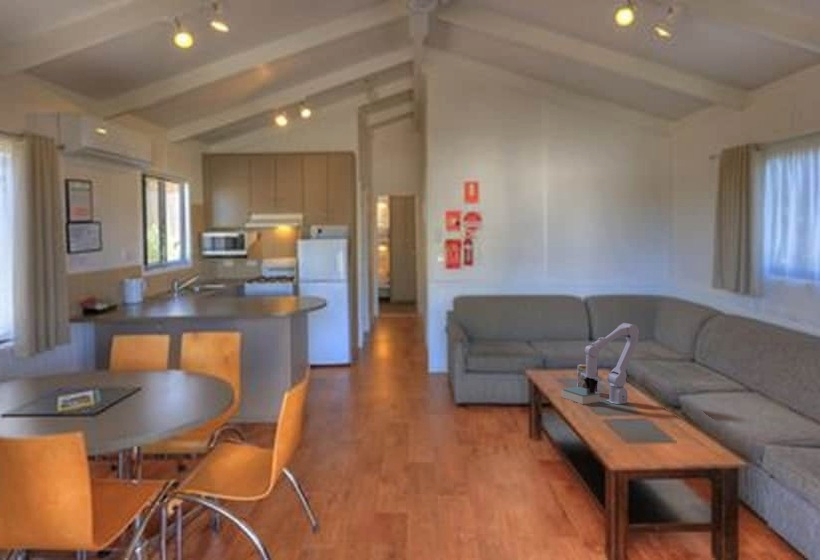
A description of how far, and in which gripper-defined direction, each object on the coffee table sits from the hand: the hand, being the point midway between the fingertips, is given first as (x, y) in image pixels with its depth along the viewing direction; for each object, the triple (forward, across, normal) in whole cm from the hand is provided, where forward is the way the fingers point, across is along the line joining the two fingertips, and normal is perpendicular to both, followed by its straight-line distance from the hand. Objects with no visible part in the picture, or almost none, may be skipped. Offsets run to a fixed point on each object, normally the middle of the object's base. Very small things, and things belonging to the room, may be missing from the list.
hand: (591, 392), depth 375 cm
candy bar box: (+7, -21, +15) cm, 27 cm away
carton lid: (+2, -8, 0) cm, 8 cm away
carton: (+6, -9, 0) cm, 11 cm away
